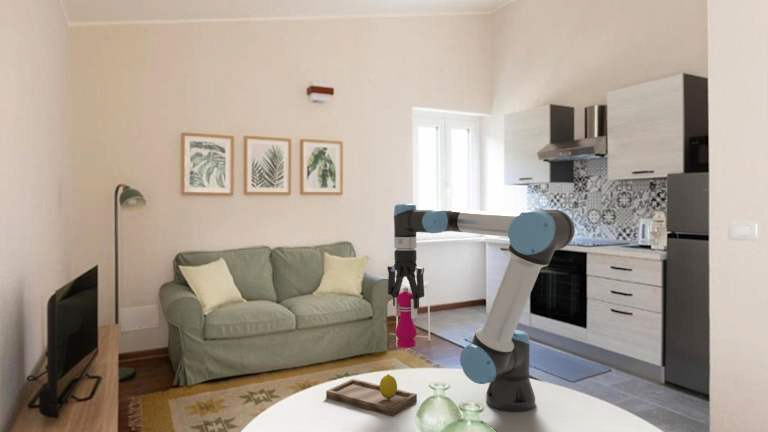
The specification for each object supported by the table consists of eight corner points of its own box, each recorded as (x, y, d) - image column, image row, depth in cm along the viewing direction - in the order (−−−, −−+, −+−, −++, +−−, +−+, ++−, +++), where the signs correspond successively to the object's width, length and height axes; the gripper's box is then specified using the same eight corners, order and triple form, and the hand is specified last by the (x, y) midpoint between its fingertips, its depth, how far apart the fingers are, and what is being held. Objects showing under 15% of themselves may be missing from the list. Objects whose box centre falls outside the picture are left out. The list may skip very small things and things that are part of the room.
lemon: (384, 404, 157) (383, 378, 157) (377, 398, 162) (376, 373, 162) (400, 401, 160) (400, 375, 159) (392, 395, 165) (392, 370, 165)
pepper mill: (417, 348, 171) (416, 288, 170) (395, 348, 171) (395, 289, 171) (416, 342, 178) (415, 285, 178) (395, 342, 178) (395, 285, 178)
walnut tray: (416, 401, 163) (416, 394, 163) (392, 416, 152) (392, 408, 151) (353, 385, 178) (352, 378, 178) (326, 398, 166) (326, 390, 166)
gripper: (376, 249, 176) (377, 315, 177) (423, 251, 165) (424, 322, 166) (388, 247, 182) (389, 311, 183) (435, 249, 171) (435, 318, 172)
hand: (406, 316), depth 174 cm, fingers closed on pepper mill, 6 cm apart
